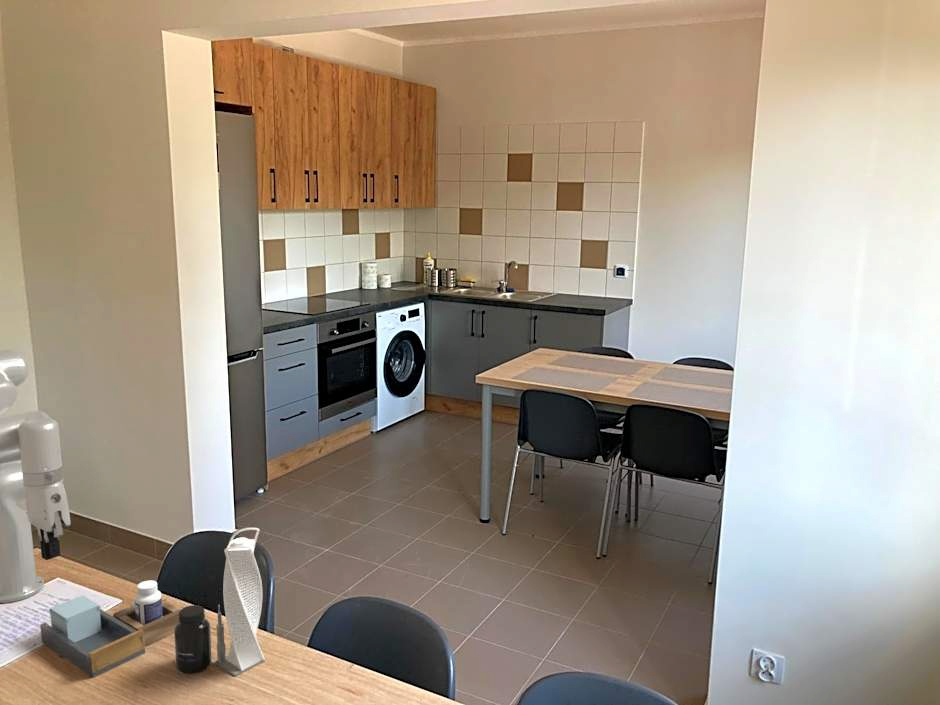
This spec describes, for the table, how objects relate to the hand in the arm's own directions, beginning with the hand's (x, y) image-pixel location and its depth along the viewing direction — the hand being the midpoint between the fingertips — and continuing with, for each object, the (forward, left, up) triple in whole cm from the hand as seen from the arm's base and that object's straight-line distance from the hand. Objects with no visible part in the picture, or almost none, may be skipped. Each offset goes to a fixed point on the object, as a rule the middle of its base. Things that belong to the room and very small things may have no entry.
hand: (51, 556), depth 167 cm
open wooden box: (+17, +11, -16) cm, 26 cm away
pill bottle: (+18, +11, -15) cm, 26 cm away
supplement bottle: (+38, +9, -16) cm, 42 cm away
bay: (+15, 0, -16) cm, 22 cm away
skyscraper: (+45, +16, -16) cm, 50 cm away
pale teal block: (+9, 0, -15) cm, 17 cm away
